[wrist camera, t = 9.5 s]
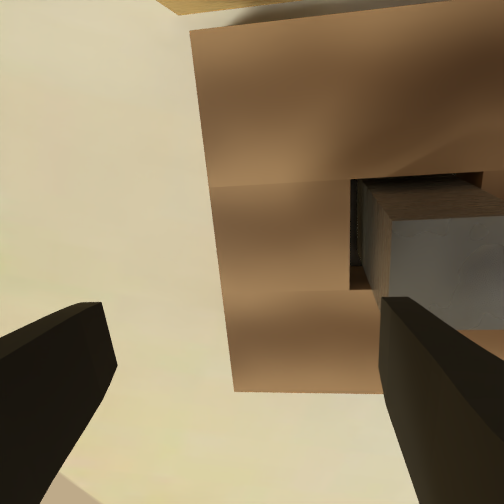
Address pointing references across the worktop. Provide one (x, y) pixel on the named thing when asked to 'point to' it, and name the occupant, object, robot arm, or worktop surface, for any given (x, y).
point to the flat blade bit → (213, 5)
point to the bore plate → (334, 169)
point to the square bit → (434, 246)
